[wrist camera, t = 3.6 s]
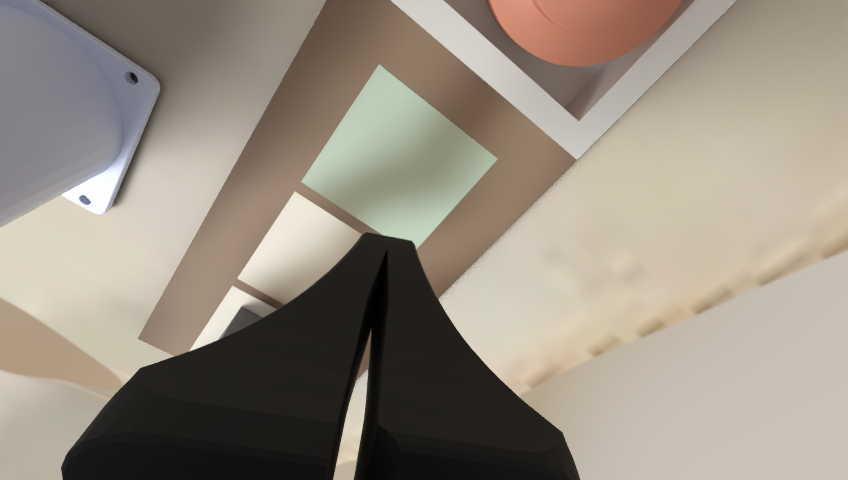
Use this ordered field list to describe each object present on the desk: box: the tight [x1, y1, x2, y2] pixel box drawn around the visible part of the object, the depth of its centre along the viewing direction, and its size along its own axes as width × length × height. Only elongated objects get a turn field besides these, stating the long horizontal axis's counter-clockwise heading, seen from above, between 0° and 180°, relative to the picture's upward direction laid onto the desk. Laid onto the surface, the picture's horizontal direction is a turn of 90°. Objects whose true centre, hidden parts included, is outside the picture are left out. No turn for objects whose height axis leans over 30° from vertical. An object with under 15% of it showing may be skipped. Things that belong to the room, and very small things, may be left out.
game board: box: [138, 0, 738, 380], centre depth 20 cm, size 12×33×1 cm, turn 143°
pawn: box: [218, 306, 263, 340], centre depth 22 cm, size 4×4×6 cm
